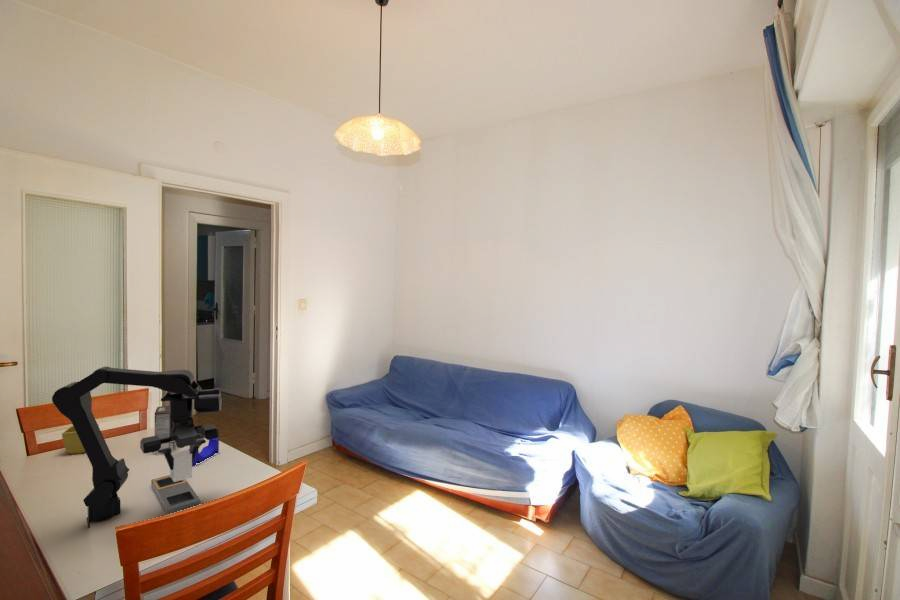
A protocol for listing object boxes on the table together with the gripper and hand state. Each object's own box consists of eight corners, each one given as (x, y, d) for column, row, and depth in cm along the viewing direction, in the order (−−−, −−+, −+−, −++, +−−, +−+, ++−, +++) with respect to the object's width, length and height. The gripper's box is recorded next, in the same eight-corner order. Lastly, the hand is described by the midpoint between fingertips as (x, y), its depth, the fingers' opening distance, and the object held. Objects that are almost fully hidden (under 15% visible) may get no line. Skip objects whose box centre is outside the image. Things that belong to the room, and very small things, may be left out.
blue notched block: (208, 452, 164) (208, 437, 163) (218, 453, 163) (218, 438, 163) (184, 465, 152) (184, 449, 152) (195, 466, 151) (195, 450, 151)
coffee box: (157, 446, 168) (157, 406, 167) (176, 444, 171) (176, 404, 170) (153, 454, 160) (153, 413, 159) (173, 452, 163) (174, 411, 162)
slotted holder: (168, 520, 117) (168, 509, 117) (151, 488, 134) (151, 479, 134) (200, 510, 123) (200, 499, 122) (180, 481, 140) (180, 472, 140)
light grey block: (173, 482, 120) (173, 458, 120) (170, 476, 123) (170, 453, 123) (191, 477, 123) (191, 453, 123) (187, 472, 126) (187, 449, 126)
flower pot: (70, 448, 163) (70, 425, 163) (99, 445, 167) (98, 423, 167) (61, 457, 155) (61, 433, 155) (91, 453, 159) (91, 430, 159)
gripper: (147, 428, 110) (147, 487, 111) (224, 414, 123) (224, 466, 124) (139, 418, 118) (139, 472, 119) (213, 405, 131) (213, 455, 132)
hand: (181, 466), depth 123 cm, fingers closed on light grey block, 4 cm apart
